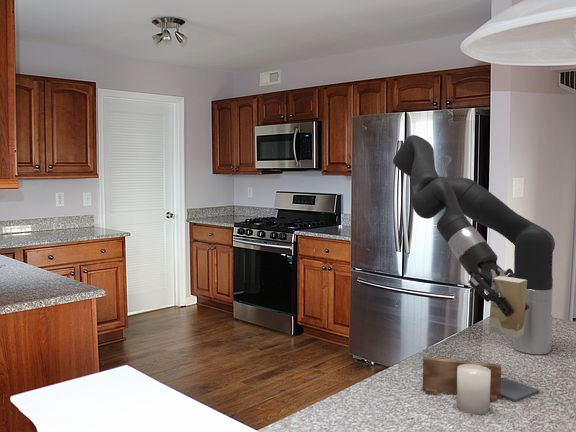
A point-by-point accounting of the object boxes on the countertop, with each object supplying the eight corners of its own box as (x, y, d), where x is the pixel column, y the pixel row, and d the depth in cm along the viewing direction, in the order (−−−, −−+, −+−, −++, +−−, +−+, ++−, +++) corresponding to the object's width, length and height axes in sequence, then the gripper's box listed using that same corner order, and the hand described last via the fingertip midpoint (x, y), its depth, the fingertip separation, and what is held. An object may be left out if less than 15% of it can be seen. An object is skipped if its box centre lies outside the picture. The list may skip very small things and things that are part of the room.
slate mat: (502, 379, 126) (502, 377, 126) (539, 392, 118) (539, 389, 118) (478, 388, 121) (478, 385, 120) (515, 402, 113) (515, 399, 113)
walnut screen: (422, 393, 118) (422, 361, 117) (423, 385, 123) (424, 354, 122) (501, 402, 113) (501, 369, 112) (499, 393, 118) (500, 362, 117)
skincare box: (488, 332, 120) (489, 277, 119) (496, 328, 123) (498, 275, 122) (517, 338, 115) (519, 281, 114) (525, 334, 118) (527, 279, 117)
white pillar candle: (469, 398, 115) (470, 361, 114) (496, 409, 110) (497, 370, 109) (449, 406, 111) (450, 368, 111) (476, 417, 106) (477, 377, 106)
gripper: (480, 258, 132) (525, 317, 123) (442, 263, 124) (486, 327, 115) (500, 238, 127) (548, 298, 119) (462, 242, 119) (510, 307, 110)
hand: (517, 312), depth 117 cm, fingers closed on skincare box, 5 cm apart
